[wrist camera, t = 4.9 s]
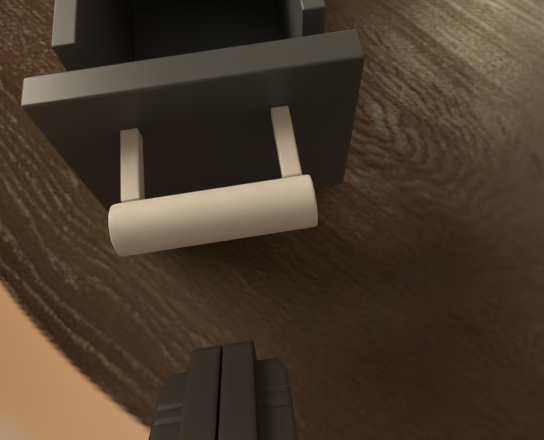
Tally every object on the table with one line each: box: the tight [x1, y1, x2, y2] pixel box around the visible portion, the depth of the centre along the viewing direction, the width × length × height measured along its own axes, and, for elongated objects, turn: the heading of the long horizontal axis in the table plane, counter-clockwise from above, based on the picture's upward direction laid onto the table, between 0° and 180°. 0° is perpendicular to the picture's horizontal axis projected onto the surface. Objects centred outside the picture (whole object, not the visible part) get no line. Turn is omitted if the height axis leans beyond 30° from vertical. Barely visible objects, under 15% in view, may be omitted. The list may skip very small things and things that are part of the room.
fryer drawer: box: [21, 0, 365, 256], centre depth 19 cm, size 17×10×8 cm, turn 8°
